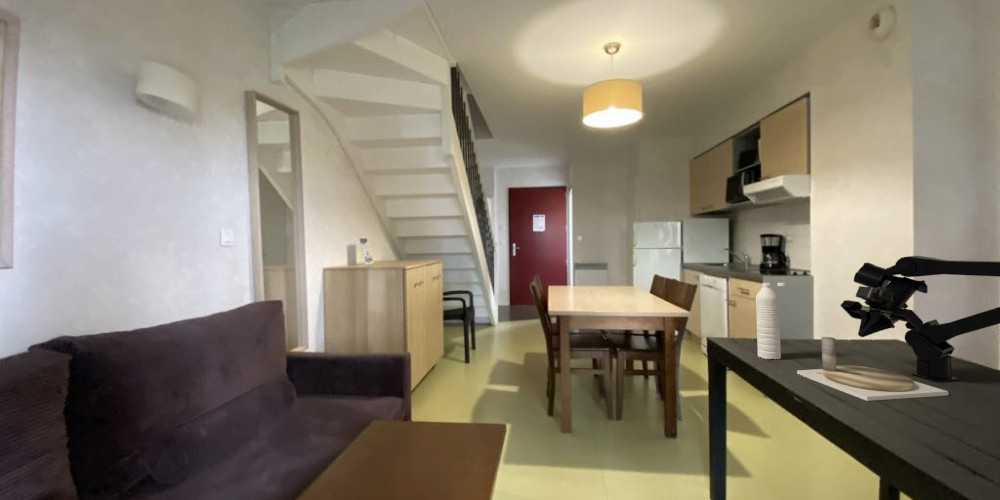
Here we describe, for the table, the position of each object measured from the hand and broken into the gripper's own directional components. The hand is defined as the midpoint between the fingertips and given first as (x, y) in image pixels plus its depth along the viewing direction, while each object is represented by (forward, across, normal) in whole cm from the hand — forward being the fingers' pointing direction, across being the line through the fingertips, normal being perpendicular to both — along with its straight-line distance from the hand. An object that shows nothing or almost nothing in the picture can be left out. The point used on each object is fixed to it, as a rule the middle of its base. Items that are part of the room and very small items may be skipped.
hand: (860, 335), depth 115 cm
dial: (+11, +7, +3) cm, 13 cm away
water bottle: (+15, -21, +2) cm, 26 cm away
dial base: (+12, +7, +4) cm, 14 cm away
